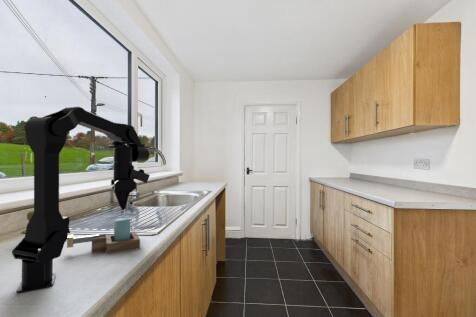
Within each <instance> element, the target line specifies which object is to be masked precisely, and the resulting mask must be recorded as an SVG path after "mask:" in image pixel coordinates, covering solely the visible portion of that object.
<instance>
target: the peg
mask: <svg viewBox="0 0 476 317" xmlns="http://www.w3.org/2000/svg"><path fill="white" fill-rule="evenodd" d="M113 228H114V229H113V235H114V242H115V241H122V240H129V239H130V232H131V218H129V217H127V218H125V217H124V218H123V217H122V218H117V219H114V221H113Z"/></svg>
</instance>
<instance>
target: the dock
mask: <svg viewBox="0 0 476 317" xmlns="http://www.w3.org/2000/svg"><path fill="white" fill-rule="evenodd" d="M140 248H141V239H140V237H139V235H138V234H137V232H136V231H130V239H129V240H122V241H115V242H114V234H108V235H107V233H100V234H99V237H97V238H92V241H91V254H94V253H101V252H106V255H107V254H112V253H120V252H125V251H131V250H132V251H133V250H137V249H140Z"/></svg>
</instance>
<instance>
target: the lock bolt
mask: <svg viewBox="0 0 476 317" xmlns="http://www.w3.org/2000/svg"><path fill="white" fill-rule="evenodd" d="M99 235H100V234H98V233H97V234H90V235H83V236H82V235H80V236H76V237H75V235H74V234H68V237H67V240H66V248H73V247H74V244H75V245H76V244H82V243H90V242H91V243H92V238H97V237H99Z"/></svg>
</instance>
